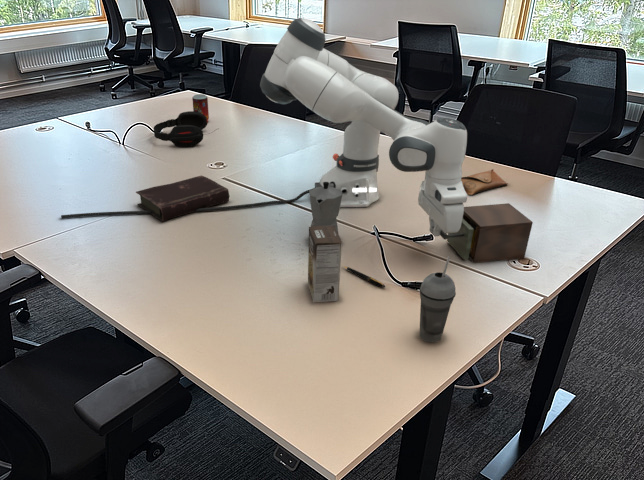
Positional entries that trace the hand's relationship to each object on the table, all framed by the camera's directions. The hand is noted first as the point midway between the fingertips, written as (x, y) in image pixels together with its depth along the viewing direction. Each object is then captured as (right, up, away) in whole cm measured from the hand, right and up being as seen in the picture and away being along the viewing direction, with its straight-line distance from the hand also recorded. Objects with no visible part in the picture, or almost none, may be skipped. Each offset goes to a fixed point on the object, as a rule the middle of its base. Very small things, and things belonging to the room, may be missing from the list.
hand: (434, 234), depth 156 cm
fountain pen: (-20, -12, -6) cm, 24 cm away
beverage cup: (-10, -26, -28) cm, 39 cm away
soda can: (-73, +67, +122) cm, 157 cm away
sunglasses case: (+29, +21, +44) cm, 56 cm away
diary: (-72, +14, +39) cm, 83 cm away
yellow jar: (+12, -3, +3) cm, 13 cm away
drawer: (+10, -4, +4) cm, 12 cm away
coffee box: (-31, -16, -11) cm, 37 cm away
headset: (-77, +52, +100) cm, 136 cm away
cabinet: (+16, -4, +5) cm, 17 cm away
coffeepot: (-28, -1, +13) cm, 31 cm away
